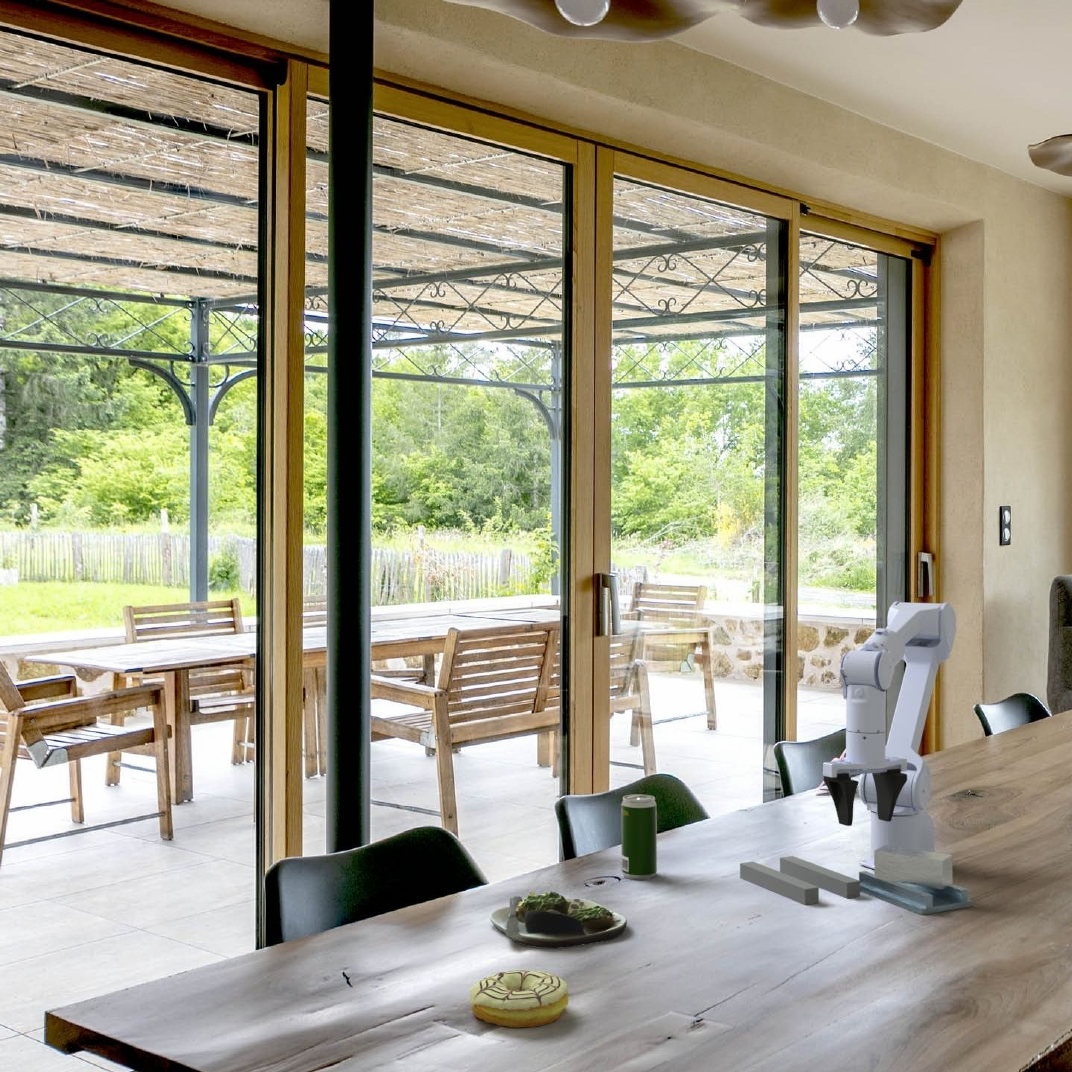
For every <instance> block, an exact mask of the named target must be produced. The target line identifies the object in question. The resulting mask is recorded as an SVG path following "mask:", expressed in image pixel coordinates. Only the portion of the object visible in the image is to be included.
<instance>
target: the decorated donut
mask: <svg viewBox="0 0 1072 1072" xmlns="http://www.w3.org/2000/svg"><path fill="white" fill-rule="evenodd" d="M568 986H569V985H568V984H567V982H566V981H565V980H563V979H562V978H561V977H559V976H557V975H554V974H553V973H550V972H546V971H540V970H539V971H537V970H521V969H520V970H519V969H518V970H508V971H502V972H497V973H495V974H491V975H489V976H486V977H484V978H482V979H480V980H478V982H476V983H474V984H473V985H472V987H470V989H469V992H470V995H469V998H470V999H469V1001H470V1002H469V1003H470V1006H471V1007H470V1008H471V1011H472V1012H473V1015H474V1016H475V1017H476V1018H477V1019H480V1020H483V1021H484V1022H485V1023H486V1024H487V1023H488V1024H493V1025H494V1024H495V1025H497V1026H500V1027H505V1026H506V1027H511V1028H514V1029H515V1028H516V1029H517V1028H529V1027H530V1028H531V1027H532V1028H534V1027H539V1026H543V1025H548V1024H551V1023H552V1022H553V1021H554V1020H558V1019H559V1018H560V1016H561V1015H562V1013H563V1012H564V1010H565V1009H566V1007H567V1005H568V1004H569V995H570V994H569V988H568Z"/></svg>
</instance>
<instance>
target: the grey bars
mask: <svg viewBox="0 0 1072 1072" xmlns="http://www.w3.org/2000/svg"><path fill="white" fill-rule="evenodd" d="M739 878H740V879H742V880H745V881H748V882H750V883H752V884H754V885H756V886H759V887H761V888H764V889H766V890H769V891H771V892H773V893H776V894H778V895H781V896H783V897H786V898H788V899H790V900H792V901H794V902H797V903H800V904H802V905H804V906H807V905H813V904H819V903H820V901H819V900H820V894H819V892H820V891H819V889H822V890H825V891H827V892H830V893H832V894H835V895H837V896H840V897H843V898H846V899H849V898H856V897H860V896H861V892H860V881H859V879H855V878H853V877H851V876H848V875H846V874H843V873H840V872H837V871H834V870H832V869H829V868H826V867H824V866H821V865H818V864H816V863H814V862H813V863H812V862H810V861H807V860H805V859H803V858H799V857H796V856H793V855H790V856H784V857H783V856H782V857H780V858H779V871H778V870H777V869H774V868H771V867H769V866H767V865H763V864H761V863H758V862H755V861H747V862H740V863H739Z"/></svg>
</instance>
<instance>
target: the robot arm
mask: <svg viewBox="0 0 1072 1072" xmlns="http://www.w3.org/2000/svg"><path fill="white" fill-rule="evenodd" d="M888 609H889V610H888V612H887V620H886V621H887V626H886V628H881V627H878V628H876V629H875V630H874V632H873V633H872V634H871V635H870V636H869V637H868V638H867V639H866V640H865V642H864V643H863V644H861V646H860V647H858V649H850V650H849V651H848V652H846V653H844V654H843V656H842V658H841V660H840V667H839V678H840V682H841V685H842V696H843V700H845V701H846V702H845V705H846V706H845V709H846V711H845V713H846V714H845V749H846V753H845V756H844V758H843V759H842V760H837V761H832V760H831V761H832V762H831V761H826V762H823V764H822V775H823V781H824V782H825V783H824V784H825V785H826V788H827V789H828V791H829V793H830V796H831V798H832V801H833V804H834V807H835V808H834V809H835V812H836V816H837V820H838V824H839V825H843V826H847V827H851V826H852V825H853V819H854V803H855V802H854V801H855V797H856V794H857V793H856V792H857V788H858V794H859V799H860V800H861V801H862V803H863V804H864V805H865V806H866V811H870V859H869V858H868V859H863V860H859V861H858V864H859V865H861V866H864V867H867V868H870V869H873V870H874V850H876V849H878V848H880V847H882V846H884V845H888V846H895V847H902V848H908V849H915V850H922V851H928V852H935V853H936V851H935V850H936V848H935V846H936V843H935V841H936V840H935V834H936V832H935V824H934V821H933V818H932V816H931V815H930V814H929V812H928V811H927V810H925V809H926V808H927V806H928V804H929V802H930V796H931V782H932V781H931V780H932V772H931V768H930V766H929V764H928V762H927V761H926V760H925V759H924V758H923V757H922V756H921V755H920V754H919V750H920V745H921V741H922V738H923V737H922V736H923V733H924V729H925V725H926V719H927V717H928V716H927V715H928V712H929V707H930V703H931V698H932V693H933V691H934V686H935V681H936V677H937V673H938V671H939V667H940V664H941V663H942V662H945V661H946V660H949V658H950V656H951V652H952V650H953V647H954V643H955V637H956V632H957V616H956V615H957V614H956V611H955V609H954V607H953V606H952V604H951V603H950V602H943V603H935V602H934V603H933V602H932V603H931V602H901V601H899V600H898V601H894V602H893V603H892V604H891V605H890V607H889V608H888ZM901 660H902V661H904V662H905V663H906V666H905V671H904V674H903V677H902V678H903V679H902V681H901V682H902V683H901V687H900V691H899V694H898V698H897V702H896V707H895V710H894V714H893V717H892V718H893V719H892V722H891V727H890V730H889V733H888V734H889V735H888V737H887V738H888V739H887V742H886V731H887V730H886V728H887V727H886V726H887V725H886V723H887V722H886V710H887V709H886V706H887V705H886V704H887V703H886V701H887V700H886V698H887V697H886V696H887V694H886V692H887V690H888V689H889V688H891V687H890V686H891V684H892V680H893V676H894V674H895V668H896V666H897V665H898V663H900V661H901ZM853 775H859V778H858V780H854V779H852V777H851V776H853Z"/></svg>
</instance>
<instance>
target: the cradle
mask: <svg viewBox="0 0 1072 1072" xmlns="http://www.w3.org/2000/svg"><path fill="white" fill-rule="evenodd" d="M858 880H859V881H860V893H864V894H866V895H868V896H871V897H874V898H877V899H880V900H881V901H885V902H887V903H890V904H893V905H895V906H898V907H900V908H903V909H906V910H908V911H910V912H914V913H917V914H919V915H921V916H922V915H923V916H924V915H929V914H936V913H941V912H946V911H952V910H953V911H954V910H958V909H963V908H965V909H966V908H970V907H972V906H973V905H972V904H973V902H972V900H971V899H969V895H968V894H969V889H968V888H966V887H962V886H959V885H957V884H953V883H952V884H950V885H949V886H947V887H946V888H944V889H937V888H931V887H925V886H919V885H913V884H907V883H901V882H895V881H889V880H883V879H877V878H874V873H872V872H869V871H865V870H863V871H859V872H858Z"/></svg>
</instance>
